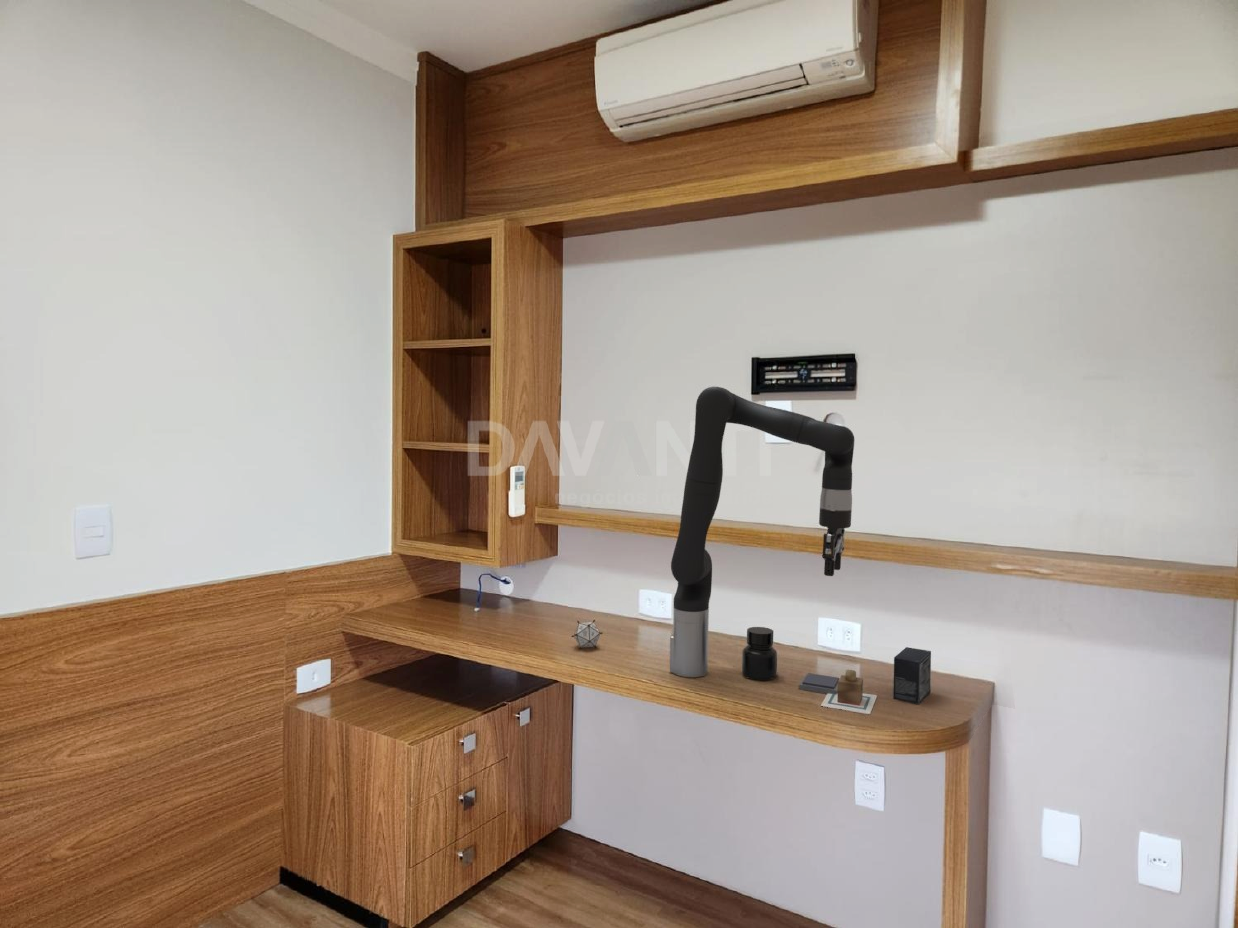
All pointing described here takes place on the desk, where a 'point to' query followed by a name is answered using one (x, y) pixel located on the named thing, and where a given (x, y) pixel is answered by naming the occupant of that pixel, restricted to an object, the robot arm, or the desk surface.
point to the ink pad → (819, 683)
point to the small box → (912, 675)
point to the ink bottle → (759, 655)
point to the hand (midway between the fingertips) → (832, 572)
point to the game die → (587, 634)
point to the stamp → (850, 688)
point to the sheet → (864, 706)
